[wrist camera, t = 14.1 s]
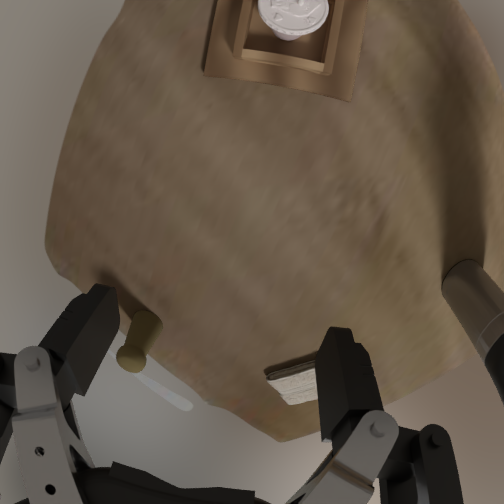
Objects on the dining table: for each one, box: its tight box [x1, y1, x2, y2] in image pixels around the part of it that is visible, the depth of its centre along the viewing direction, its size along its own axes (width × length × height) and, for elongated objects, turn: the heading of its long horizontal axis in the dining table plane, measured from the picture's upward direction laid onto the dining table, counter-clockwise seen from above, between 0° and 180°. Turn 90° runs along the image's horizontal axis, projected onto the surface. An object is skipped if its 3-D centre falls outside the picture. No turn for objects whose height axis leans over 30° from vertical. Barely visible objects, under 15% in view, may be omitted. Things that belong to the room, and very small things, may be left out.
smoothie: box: [258, 0, 329, 41], centre depth 21 cm, size 6×6×14 cm
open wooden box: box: [204, 0, 368, 102], centre depth 26 cm, size 18×16×4 cm
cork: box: [116, 310, 163, 373], centre depth 47 cm, size 6×6×11 cm
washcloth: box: [266, 360, 318, 405], centre depth 56 cm, size 12×18×3 cm, turn 118°
